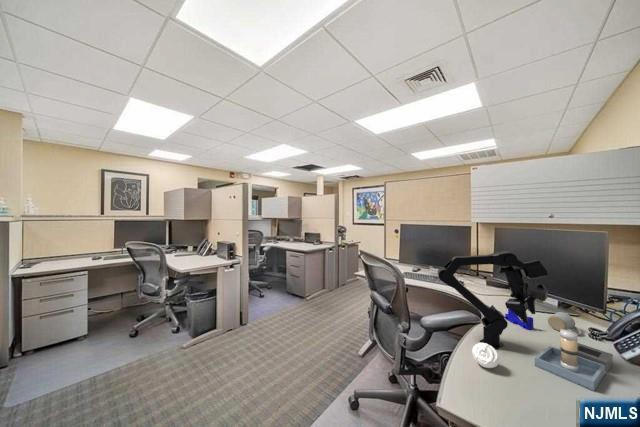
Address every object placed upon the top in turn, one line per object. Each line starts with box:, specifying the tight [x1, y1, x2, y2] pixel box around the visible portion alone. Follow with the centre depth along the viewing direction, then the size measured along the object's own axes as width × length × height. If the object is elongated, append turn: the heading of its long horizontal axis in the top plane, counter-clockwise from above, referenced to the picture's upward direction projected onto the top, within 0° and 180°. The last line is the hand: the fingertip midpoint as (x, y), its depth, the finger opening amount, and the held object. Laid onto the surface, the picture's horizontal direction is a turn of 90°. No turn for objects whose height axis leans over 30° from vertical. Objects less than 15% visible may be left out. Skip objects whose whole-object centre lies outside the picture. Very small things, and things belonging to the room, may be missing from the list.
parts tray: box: [534, 345, 607, 392], centre depth 80 cm, size 16×14×3 cm
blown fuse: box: [559, 329, 579, 373], centre depth 80 cm, size 4×4×13 cm
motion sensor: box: [471, 342, 500, 369], centre depth 82 cm, size 8×8×8 cm
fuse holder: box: [577, 342, 614, 373], centre depth 86 cm, size 10×10×4 cm
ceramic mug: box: [547, 311, 583, 337], centre depth 109 cm, size 11×8×8 cm
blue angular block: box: [504, 308, 534, 331], centre depth 115 cm, size 12×4×6 cm, turn 176°
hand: (530, 318), depth 92 cm, fingers open, 9 cm apart
